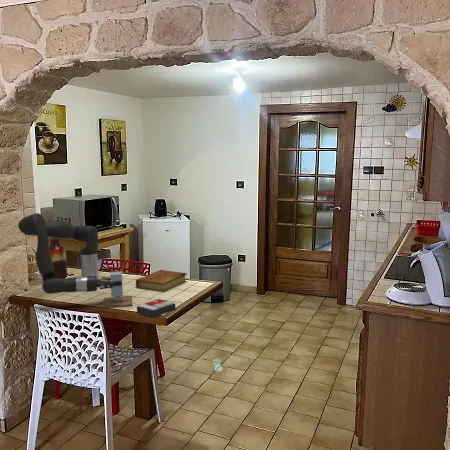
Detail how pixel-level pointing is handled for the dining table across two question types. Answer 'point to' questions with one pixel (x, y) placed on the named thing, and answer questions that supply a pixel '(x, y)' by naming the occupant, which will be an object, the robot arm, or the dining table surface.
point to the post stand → (117, 301)
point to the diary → (161, 281)
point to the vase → (58, 257)
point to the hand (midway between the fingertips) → (121, 281)
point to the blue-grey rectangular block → (116, 289)
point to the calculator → (155, 308)
